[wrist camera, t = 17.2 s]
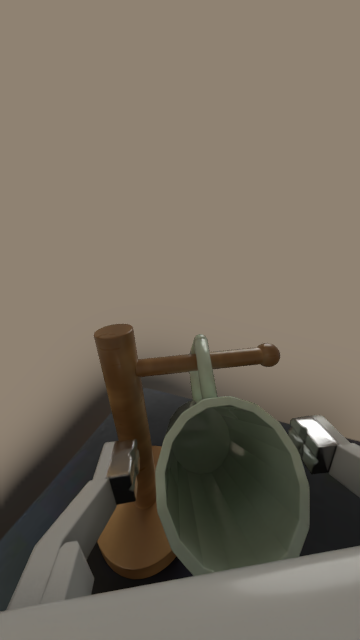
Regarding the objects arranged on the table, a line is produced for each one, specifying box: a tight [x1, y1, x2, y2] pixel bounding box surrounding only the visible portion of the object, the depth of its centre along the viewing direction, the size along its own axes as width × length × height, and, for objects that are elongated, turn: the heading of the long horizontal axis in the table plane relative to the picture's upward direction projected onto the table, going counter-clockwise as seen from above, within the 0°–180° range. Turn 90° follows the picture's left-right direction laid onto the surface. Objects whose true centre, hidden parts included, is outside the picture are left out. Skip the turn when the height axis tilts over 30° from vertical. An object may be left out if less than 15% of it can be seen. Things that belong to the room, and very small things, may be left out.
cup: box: [155, 334, 310, 576], centre depth 13 cm, size 10×6×11 cm
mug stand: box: [94, 324, 280, 579], centre depth 15 cm, size 16×9×18 cm, turn 95°
